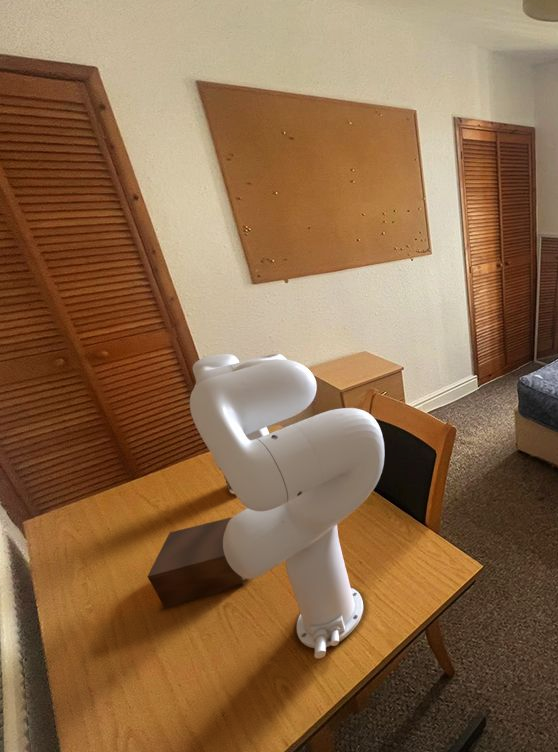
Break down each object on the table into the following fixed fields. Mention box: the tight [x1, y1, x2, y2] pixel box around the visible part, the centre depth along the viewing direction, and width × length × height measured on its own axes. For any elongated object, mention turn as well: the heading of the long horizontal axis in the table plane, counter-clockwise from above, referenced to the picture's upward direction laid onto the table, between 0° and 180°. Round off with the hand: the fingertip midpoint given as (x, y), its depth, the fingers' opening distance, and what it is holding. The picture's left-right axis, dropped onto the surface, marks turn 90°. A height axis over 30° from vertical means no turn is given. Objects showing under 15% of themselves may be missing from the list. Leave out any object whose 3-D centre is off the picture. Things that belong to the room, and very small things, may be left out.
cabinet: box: [147, 516, 245, 609], centre depth 91 cm, size 15×13×10 cm
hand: (256, 485), depth 89 cm, fingers closed
